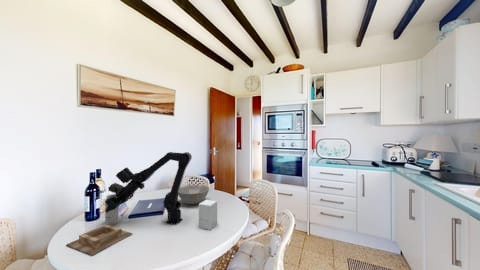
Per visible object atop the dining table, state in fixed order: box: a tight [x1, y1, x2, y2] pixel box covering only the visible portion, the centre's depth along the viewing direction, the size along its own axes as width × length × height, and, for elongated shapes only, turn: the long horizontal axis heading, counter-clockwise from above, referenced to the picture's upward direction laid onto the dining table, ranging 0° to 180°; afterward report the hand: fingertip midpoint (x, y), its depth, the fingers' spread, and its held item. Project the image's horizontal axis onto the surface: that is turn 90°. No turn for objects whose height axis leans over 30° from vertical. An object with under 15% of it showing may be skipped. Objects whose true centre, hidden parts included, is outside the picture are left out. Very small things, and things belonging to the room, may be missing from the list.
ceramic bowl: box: [178, 184, 210, 205], centre depth 136 cm, size 22×23×10 cm
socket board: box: [65, 224, 134, 257], centre depth 89 cm, size 18×18×4 cm
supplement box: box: [198, 199, 218, 231], centre depth 103 cm, size 7×7×13 cm
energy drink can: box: [104, 193, 119, 226], centre depth 105 cm, size 6×6×15 cm
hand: (109, 209), depth 105 cm, fingers closed on energy drink can, 6 cm apart
